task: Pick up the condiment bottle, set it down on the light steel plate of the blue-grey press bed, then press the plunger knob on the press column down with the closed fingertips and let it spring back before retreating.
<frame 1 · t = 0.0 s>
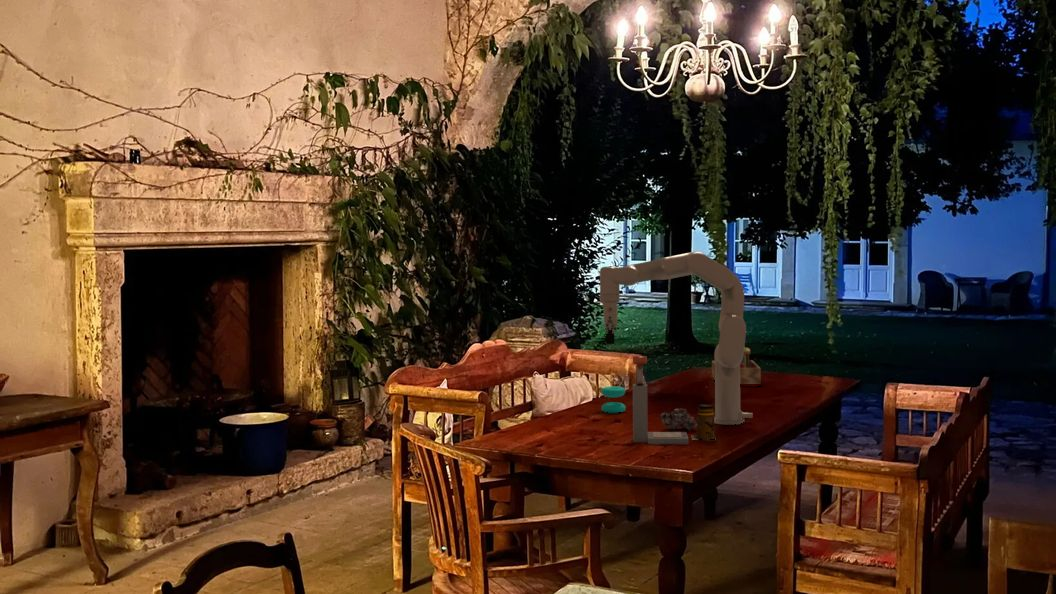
hand: (610, 342, 407), 31 cm above the table, tool pointing down, fingers open, 9 cm apart
toy crate: (735, 382, 508), on the table
mineral specimen: (680, 430, 392), on the table
pounding bench toy: (735, 383, 508), resting in toy crate
condiment: (703, 438, 375), on the table
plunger: (640, 441, 372), resting on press, slide at 0.4 cm
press: (667, 440, 371), on the table
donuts: (613, 412, 432), on the table
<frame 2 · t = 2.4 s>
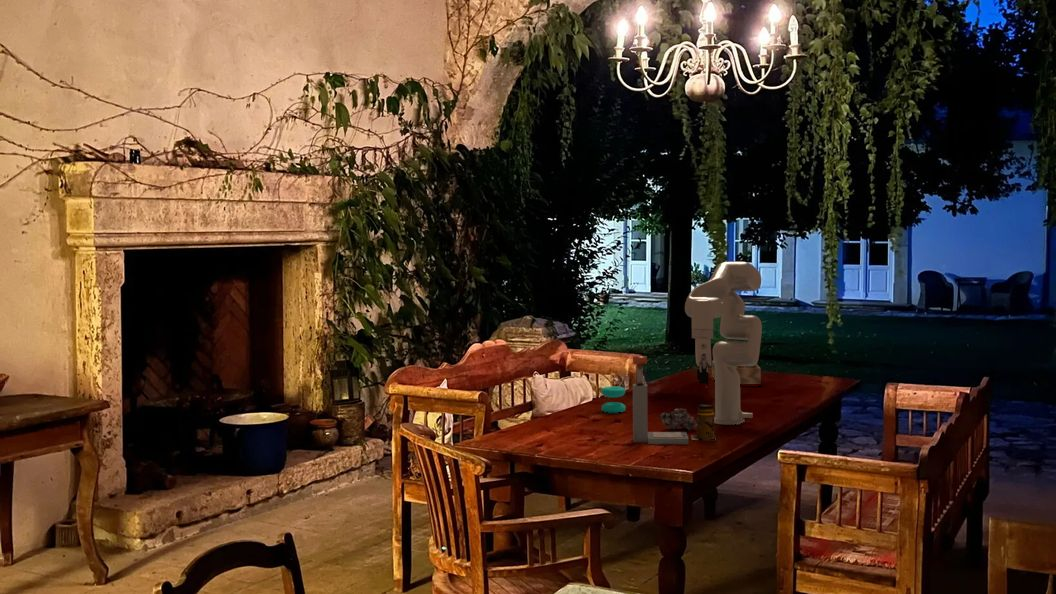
hand: (702, 381, 374), 20 cm above the table, tool pointing down, fingers open, 9 cm apart
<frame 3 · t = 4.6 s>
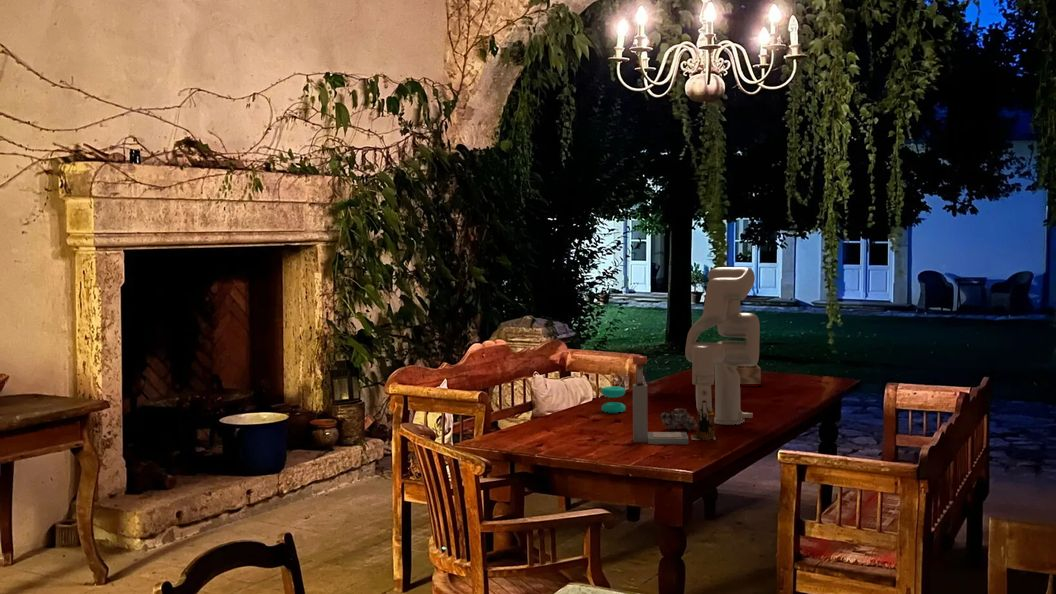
hand: (703, 429, 375), 3 cm above the table, tool pointing down, fingers closed on condiment, 6 cm apart
condiment: (703, 438, 375), on the table, touching gripper
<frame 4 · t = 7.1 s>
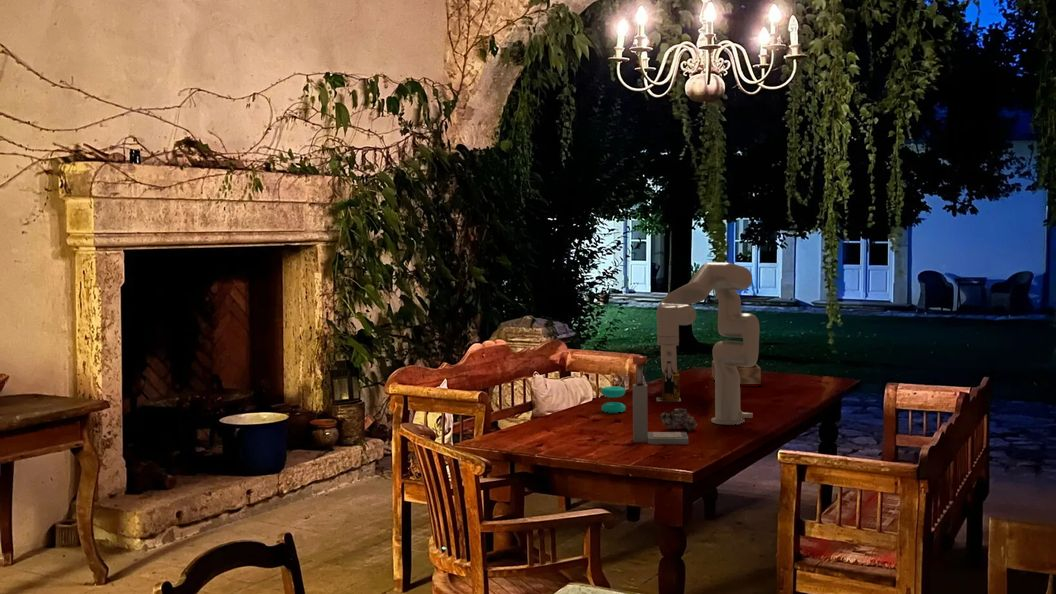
hand: (668, 391, 370), 18 cm above the table, tool pointing down, fingers closed on condiment, 6 cm apart
condiment: (668, 400, 371), point 14 cm above the table, touching gripper
when the fingers open (6 cm above the table, at t = 9.7 s): condiment stays where it is, resting on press.
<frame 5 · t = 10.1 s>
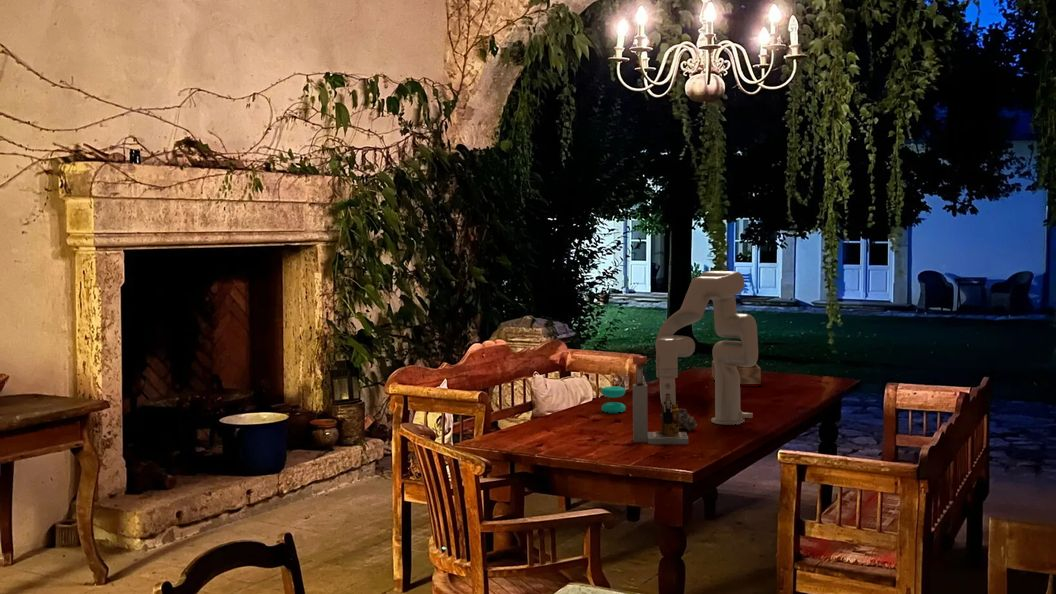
hand: (667, 421, 371), 7 cm above the table, tool pointing down, fingers open, 9 cm apart
condiment: (667, 434, 371), point 2 cm above the table, touching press
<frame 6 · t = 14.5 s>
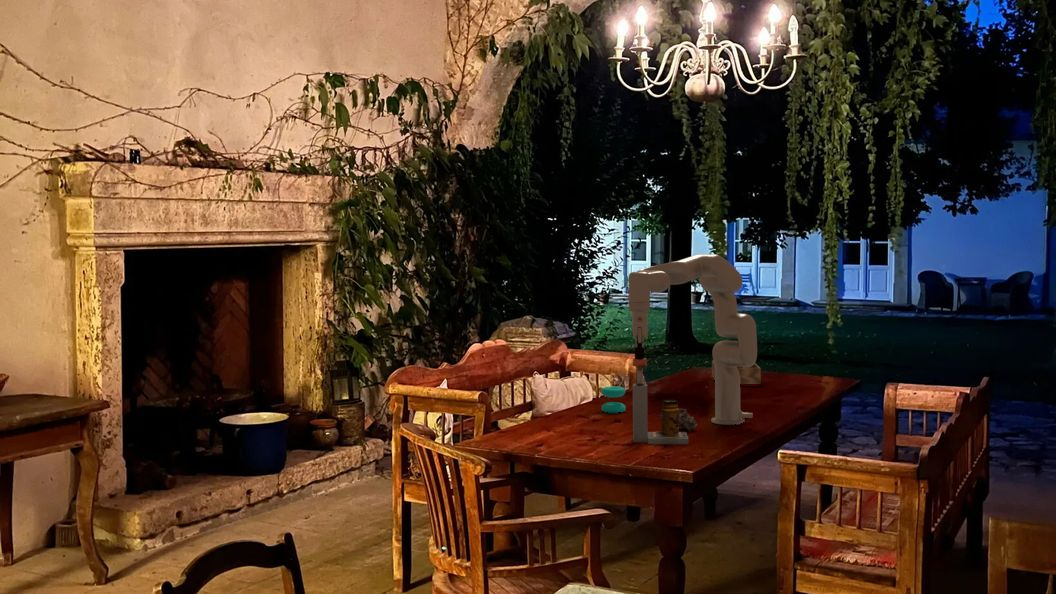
hand: (639, 358, 370), 29 cm above the table, tool pointing down, fingers closed
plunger: (640, 443, 372), resting on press, slide at 1.1 cm, touching gripper
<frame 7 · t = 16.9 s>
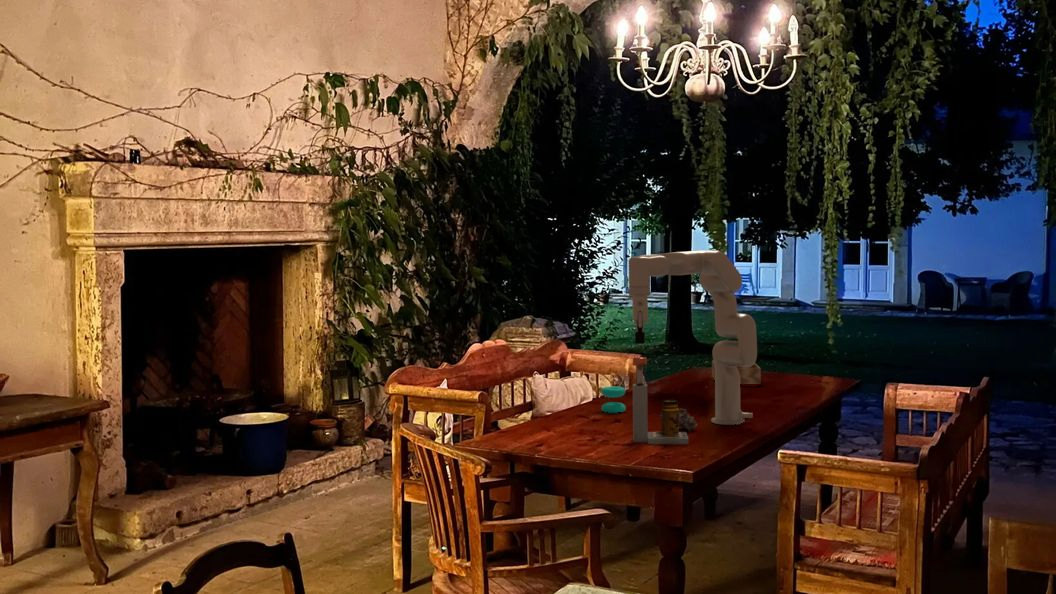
hand: (639, 343, 371), 35 cm above the table, tool pointing down, fingers closed
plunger: (640, 443, 372), resting on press, slide at 0.8 cm
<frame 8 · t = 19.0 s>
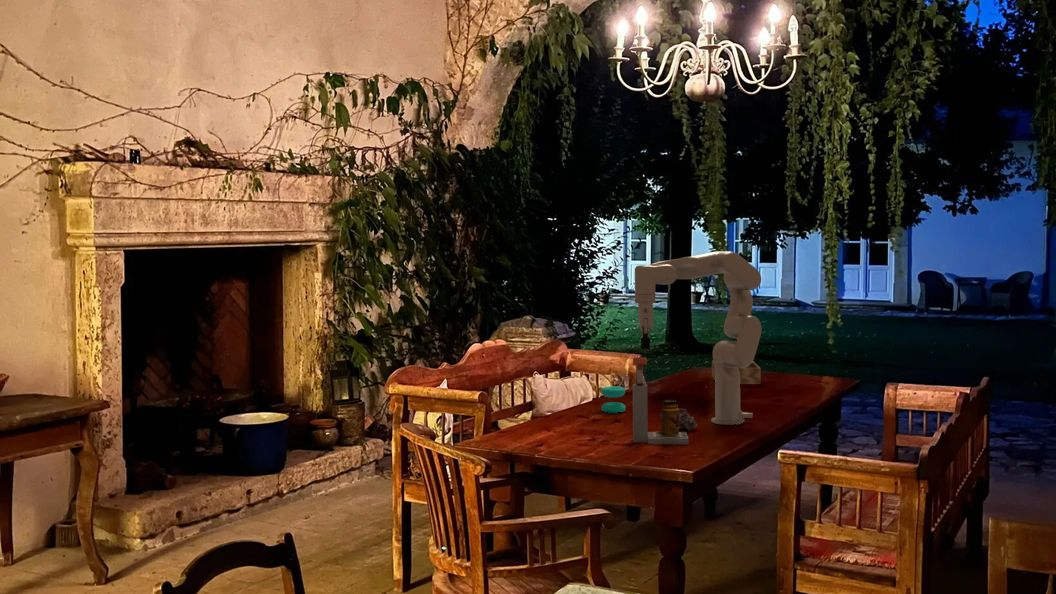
hand: (645, 348, 386), 31 cm above the table, tool pointing down, fingers closed
at the end: condiment inside the target area on the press (0.4 cm from its centre), point 2.1 cm above the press's base; condiment tilted 0°; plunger slide at 0.8 cm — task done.
